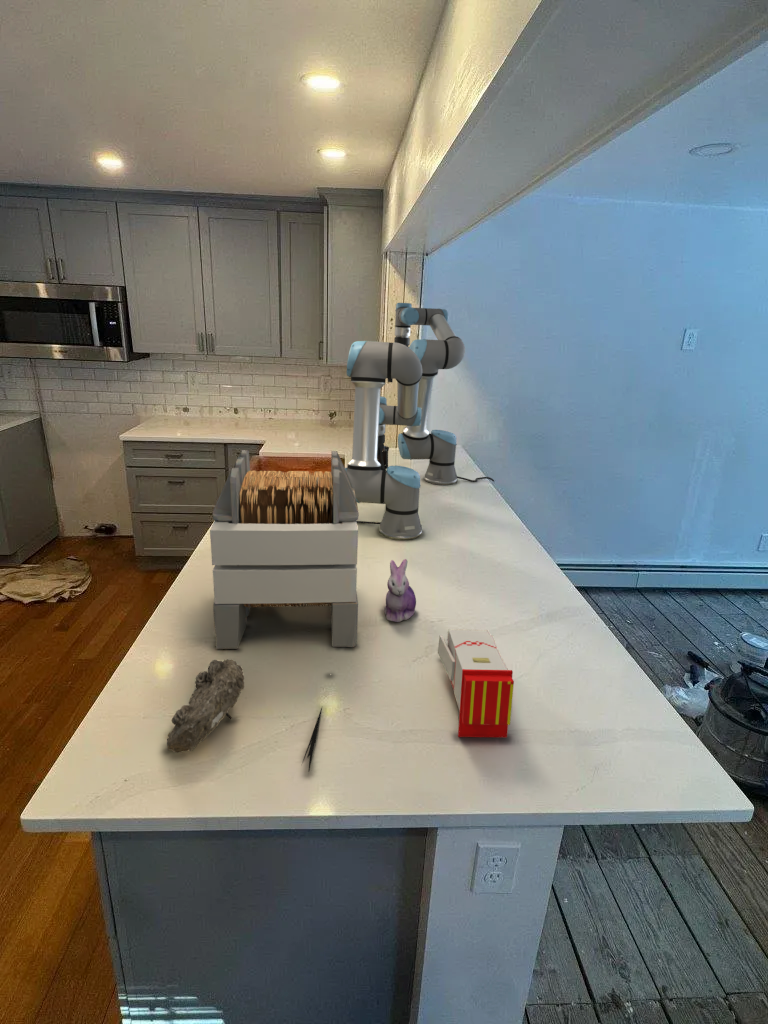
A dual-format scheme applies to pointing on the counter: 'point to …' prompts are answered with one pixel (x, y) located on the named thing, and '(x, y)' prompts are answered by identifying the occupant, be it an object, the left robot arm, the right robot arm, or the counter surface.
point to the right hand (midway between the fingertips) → (399, 381)
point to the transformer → (285, 547)
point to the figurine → (399, 594)
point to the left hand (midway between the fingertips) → (374, 486)
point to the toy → (478, 682)
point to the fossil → (206, 705)
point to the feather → (313, 740)
